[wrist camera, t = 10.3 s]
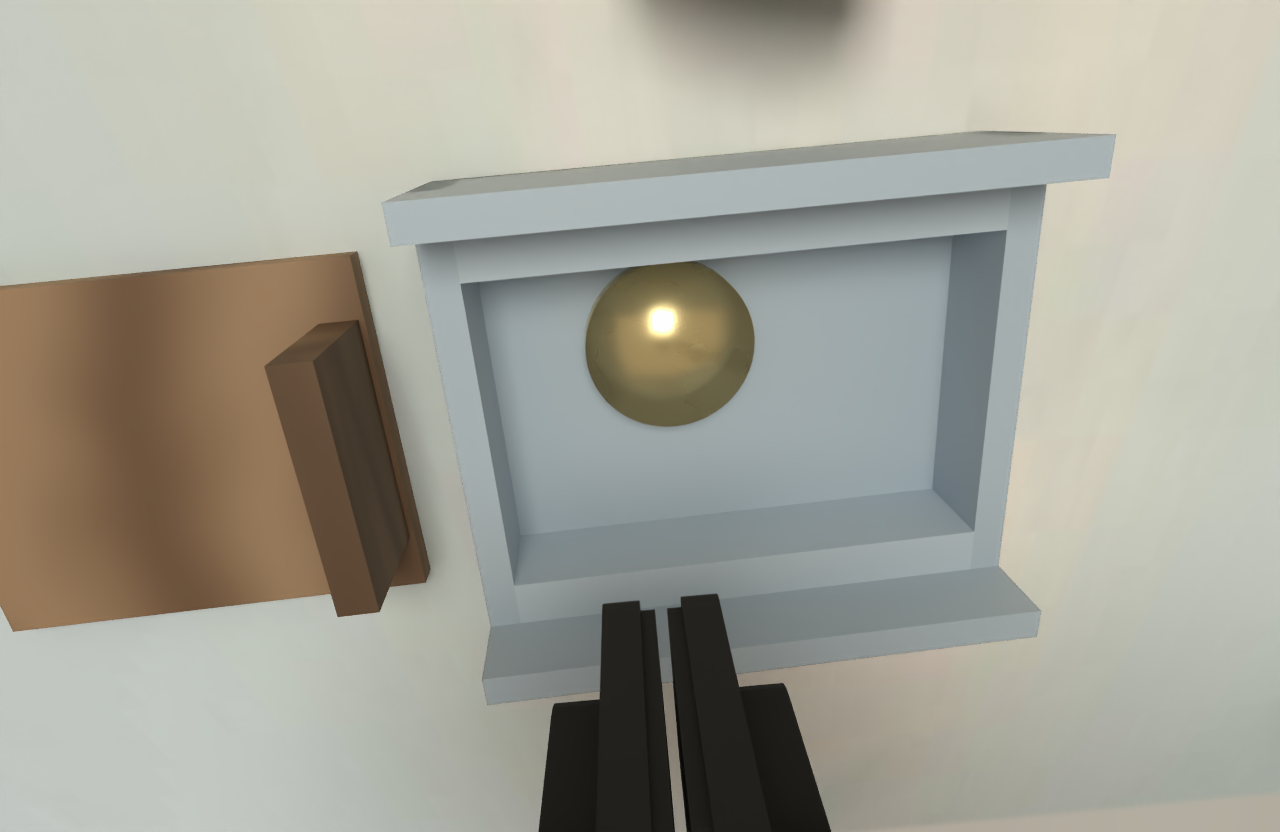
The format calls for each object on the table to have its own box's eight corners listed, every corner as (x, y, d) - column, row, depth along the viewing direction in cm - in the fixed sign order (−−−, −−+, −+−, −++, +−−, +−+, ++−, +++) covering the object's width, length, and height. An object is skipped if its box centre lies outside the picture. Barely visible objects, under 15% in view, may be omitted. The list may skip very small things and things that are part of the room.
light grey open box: (981, 131, 19) (1116, 134, 14) (945, 533, 23) (1037, 636, 19) (431, 181, 18) (381, 202, 13) (505, 585, 23) (487, 705, 18)
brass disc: (746, 248, 19) (752, 254, 18) (749, 406, 20) (756, 417, 20) (575, 265, 19) (575, 271, 18) (594, 423, 20) (594, 435, 20)
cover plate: (362, 248, 19) (299, 284, 15) (433, 559, 23) (399, 663, 18) (-108, 294, 18) (-319, 346, 14) (41, 606, 22) (-89, 724, 18)
